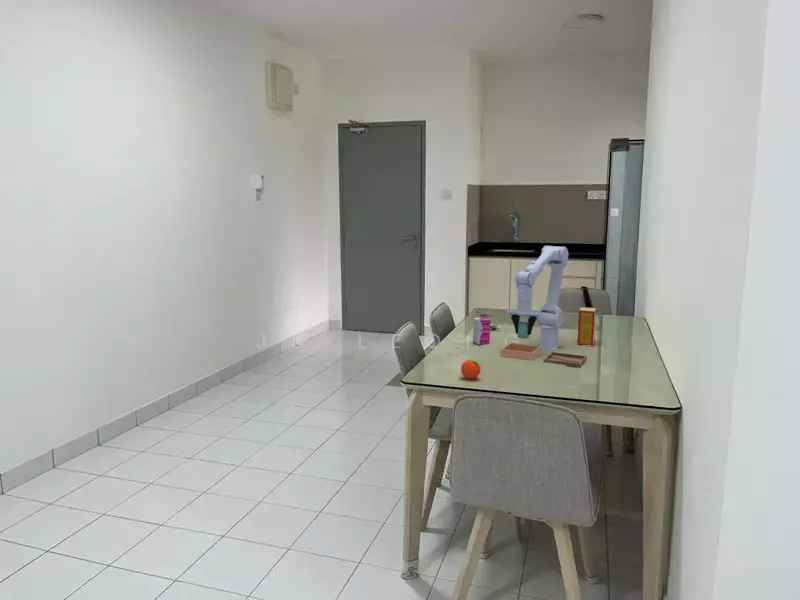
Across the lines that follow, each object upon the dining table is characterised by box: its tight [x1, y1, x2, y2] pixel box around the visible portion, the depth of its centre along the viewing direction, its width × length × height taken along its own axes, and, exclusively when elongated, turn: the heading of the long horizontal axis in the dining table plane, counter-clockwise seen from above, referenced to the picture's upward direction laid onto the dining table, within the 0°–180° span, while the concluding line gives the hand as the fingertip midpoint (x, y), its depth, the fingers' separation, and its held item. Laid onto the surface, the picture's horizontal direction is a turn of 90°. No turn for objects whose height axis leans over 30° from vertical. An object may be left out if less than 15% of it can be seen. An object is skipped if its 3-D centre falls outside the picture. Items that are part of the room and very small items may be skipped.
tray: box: [542, 351, 588, 368], centre depth 242 cm, size 14×14×2 cm
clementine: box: [460, 358, 482, 380], centre depth 216 cm, size 8×7×7 cm
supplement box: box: [472, 317, 491, 346], centre depth 271 cm, size 6×6×12 cm
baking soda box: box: [576, 306, 597, 347], centre depth 273 cm, size 10×6×16 cm
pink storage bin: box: [500, 342, 542, 361], centre depth 250 cm, size 13×13×4 cm
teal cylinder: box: [517, 321, 530, 340], centre depth 248 cm, size 4×4×6 cm
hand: (523, 333), depth 248 cm, fingers closed on teal cylinder, 4 cm apart
